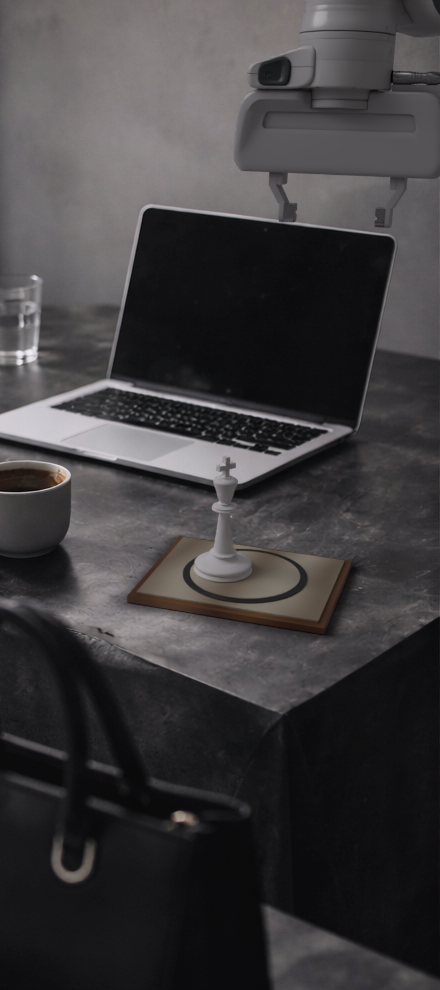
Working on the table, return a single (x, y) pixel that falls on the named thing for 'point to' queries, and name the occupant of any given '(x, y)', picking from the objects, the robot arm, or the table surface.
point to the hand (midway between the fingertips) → (334, 224)
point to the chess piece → (223, 535)
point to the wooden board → (248, 586)
